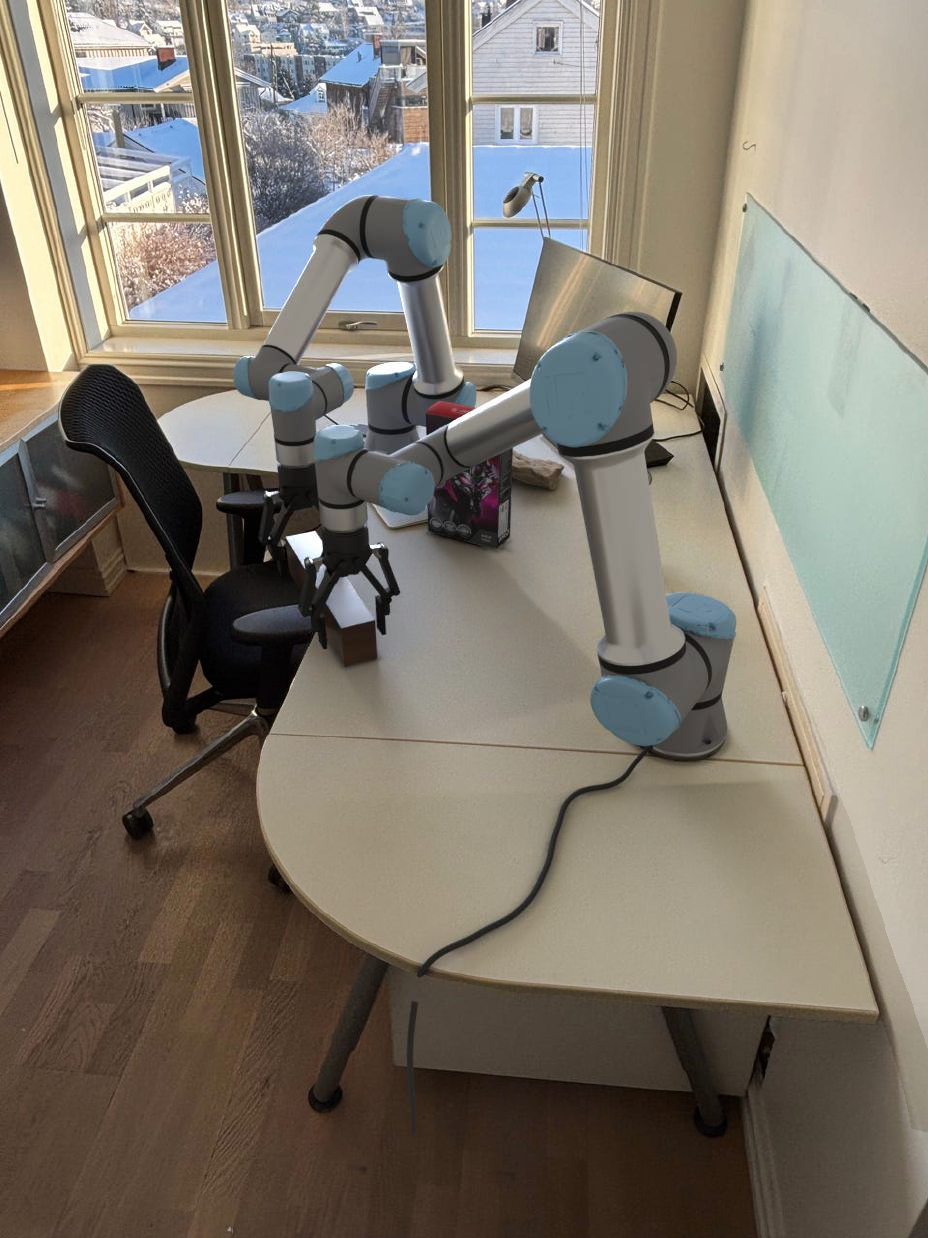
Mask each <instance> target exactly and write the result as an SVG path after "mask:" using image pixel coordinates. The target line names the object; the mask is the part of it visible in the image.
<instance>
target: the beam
mask: <svg viewBox="0 0 928 1238" xmlns="http://www.w3.org/2000/svg"><path fill="white" fill-rule="evenodd" d="M285 547H286V556H287V565H288V573H289V574H290V576H291V579H292V580H293V581H294V583H295V585H296V587H297V588H298V590H299V592H300V593H301V590H302V585H303V580H304V575H305V565H304V559H305V558H306V557H310V558H311V559H314V558H317V557H320V556H321V554H322V551H323V547H322V538H321V537H320V536H319V535H318V533H317V531H315V530H314V531H307V532H303V533H299V534H294V535H289V536H285ZM325 569H326V566H325V565H324V564H323V565H321V566H320V570H319V572H318V573H317V579H316V584H315V589H314V594H313V598H314V596H315V594H316V591H317V589H318V587H319V585H320V583H321V581H322V579H323V577H324V572H325ZM347 577H348V576H346V577H343V578H341V577H340V579H339V581H338V583H337V584H335V585H334V587H333V590H332V592H331V594H330V596H329V598H328V600H327V602H326V604H325V606H324V608H323V610H322V613H323V615H324V616H325V625H326V635H327V641H328V642H329V643H330V645H331V647H332V648H333V650H334V653H336V655H337V657H338V659H339V661H340V662H341V664H342V665H343V667H344V668H346V667H350V666H354V665H358V664H363V663H365V662H370V661H374V660H377V659H378V643H377V641H378V640H377V623H376V618H375V617H374V616H373V615H372V613H371V612H370V610H369V609H368V606H367V605H366V604H365V603H364V601H363V600H362V598H361V596H360V595H359V594H358V592H357V591H356V590H355V588H354V586H353V585H352V583H351V582H350V581H349V579H348V578H347ZM312 600H313V599H312Z"/></svg>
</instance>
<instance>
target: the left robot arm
mask: <svg viewBox="0 0 928 1238" xmlns="http://www.w3.org/2000/svg"><path fill="white" fill-rule="evenodd" d="M452 238H453V236H452V228H451V223H450V219H449V217H448V215H447V213H446V211H445V210H444V209H443V207H442V206H441V205H440V204H438V203H436V202H434V201H430V200H426V199H425V200H424V199H422V198H417V197H414V198H406V197H405V198H404V197H396V196H395V197H394V196H387V195H377V194H363V195H360V196H357V197H354V198H352V199H351V200H349V201H347V202H345V203H344V204H342V205H341V206H340V207H339V208H337V209H336V210H335V211H334V212H333V213H332V214H331V215H330V216H328V219H326V221H325V222H324V223H323V224H322V226H321V227H320V229H319V230H318V232H317V233H316V236H315V237H314V240H313V242H312V249H313V252H312V254H311V256H310V257H309V260H308V261H307V263H306V265H305V266H304V269H303V270H302V273H301V275H299V277H298V279H297V281H296V283H295V285H294V287H293V289H292V290H291V292H290V294H289V296H288V298H287V300H286V301H285V303H284V305H283V306H282V308H281V309H280V312H279V314H278V316H277V317H276V320H275V322H274V323H273V325H272V326H271V329H270V330H269V331H268V334H267V336H266V337H265V340H263V343H262V345H261V347H260V348H259V350H258V351H257V354H256V355H245V356H242V357H241V358H239V359H238V360H237V361H236V363H235V365H234V368H233V373H232V377H233V379H232V380H233V385H234V387H235V389H236V391H237V392H238V393H239V394H240V395H242V396H245V397H248V398H250V399H253V400H256V401H257V400H258V401H266V402H268V405H269V408H270V415H271V421H272V422H271V423H272V429H273V439H274V449H275V459H276V461H277V464H276V469H277V476H278V488H277V490H275V491H271V492H269V491H267V490H265V491H263V492H262V499H263V509H262V514H261V518H260V519H261V520H260V526H259V531H258V536H257V537H258V540H259V542H260V544H261V545H262V546H269V551H270V556H271V558H272V560H273V561H274V562H275V561H276V565H277V570H278V572H279V575H280V576H281V577H286V576H287V575H286V567H285V559H284V557H285V556H284V550H283V549H284V548H283V545H282V543H281V538H282V536H283V534H284V532H285V530H286V528H287V525H288V523H289V522H290V521H289V520H290V519H291V517H292V516H293V515H294V513H295V511H300V510H302V509H312V508H313V506H314V507H315V509H316V510H317V511H318V512H319V513H320V511H319V500H318V488H317V478H316V469H315V461H314V437H315V435H316V434H317V421H318V420H319V419H321V418H323V417H324V416H326V415H328V414H329V413H331V412H333V411H336V410H337V409H339V408H341V407H343V405H344V404H345V403H347V402H348V401H349V400H350V399H351V398H352V396H353V394H354V392H355V384H354V379H353V376H352V374H351V373H350V371H349V370H348V369H347V368H346V367H345V366H343V365H341V364H339V363H334V362H333V363H329V364H324V365H322V366H321V367H313V366H312V367H311V366H306V365H300V362H301V361H302V359H303V357H304V356H305V353H306V351H307V350H308V348H309V346H310V344H311V342H312V340H313V339H314V336H315V335H316V333H317V331H318V329H319V327H320V325H321V324H322V322H323V320H324V318H325V316H326V314H327V313H328V311H329V309H330V307H331V306H332V305H331V304H332V303H333V301H334V300H335V297H336V295H337V294H338V292H339V290H340V288H341V287H342V285H343V284H344V283H343V282H344V281H345V279H346V277H347V275H348V274H349V273H352V272H354V271H355V270H356V269H357V268H358V266H359V264H360V262H361V261H363V260H366V259H373V260H381V261H384V263H385V266H386V270H387V274H388V277H389V278H390V279H391V280H392V281H394V282H397V286H398V291H399V295H400V300H401V305H402V309H403V314H404V318H405V323H406V327H407V331H408V337H409V342H410V346H411V350H412V355H413V359H414V360H413V361H414V364H415V365H414V364H413V363H411V362H408V361H392V362H386V363H382V364H378V365H376V366H373V367H372V368H370V369H369V370H368V371H367V373H366V374H365V387H364V391H365V399H366V400H365V401H366V416H367V432H366V436H365V439H364V442H365V443H364V448H366V449H370V450H372V451H376V452H379V453H382V454H385V455H391V454H393V453H395V452H396V451H398V450H400V449H402V448H404V447H406V446H408V445H410V444H412V443H414V442H416V441H418V440H420V439H421V438H420V435H419V433H418V429H417V426H418V427H423V428H426V411H427V410H428V409H429V408H430V407H431V406H433V405H434V404H435V403H437V402H439V401H446V402H450V403H455V404H459V405H464V406H469V407H474V408H476V406H477V405H476V403H477V395H478V393H477V386H476V385H475V384H474V383H473V382H471V381H465V377H464V372H463V369H462V367H461V366H460V365H458V364H457V363H455V358H454V353H453V348H452V341H451V335H450V331H449V325H448V319H447V313H446V307H445V302H444V296H443V290H442V285H441V279H440V273H441V271H442V270H443V269H444V266H445V263H446V261H447V260H448V258H449V256H450V255H451V249H452V244H451V241H452ZM278 499H281V500H282V501H283V502H282V503H281V507H280V508H281V509H280V510H279V513H278V515H277V517H276V520H275V521H274V524H273V526H272V523H273V518H274V513H275V506H276V505H277V502H278ZM271 528H272V529H271Z"/></svg>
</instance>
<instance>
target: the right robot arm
mask: <svg viewBox="0 0 928 1238" xmlns="http://www.w3.org/2000/svg"><path fill="white" fill-rule="evenodd" d="M677 351H678V350H677V346H676V342H675V340H674V337H673V335H672V334H671V332H670V331H669V329H668V328H667V326H665V324H664V323H663V322H661V321H660V320H658V318H656V317H655V316H652V315H650V314H648V313H645V312H640V311H624V312H617V313H615V314H612V315H610V316H608V317H606V318H605V319H603V320H600V321H599V322H596V323H594V324H592V325H590V326H588V327H586V328H583V329H581V330H579V331H576V332H574V333H570V334H568V335H566V336H564V337H563V338H561V339H560V340H559V341H558V342H556V343H555V344H554V345H553V346H551V347H550V348H549V349H547V350H546V351H545V352H544V353H543V355H542V356H541V357H540V358H539V359H538V362H537V363H536V365H535V366H534V369H533V371H532V374H531V377H530V379H528V380H526V381H525V382H522V383H521V384H518V385H517V386H515V387H514V388H512V389H510V390H508V391H506V392H504V393H503V394H501V395H499V396H497V397H495V398H493V399H492V400H489V401H488V402H486V403H484V404H482V405H481V406H479V407H476V408H477V409H475V410H473V411H471V412H469V413H468V414H466V415H464V416H462V417H460V418H458V419H457V420H455V421H453V422H452V423H449V424H447V425H445V426H443V427H441V428H439V429H437V430H436V431H434V432H433V433H431V434H429V435H427V436H426V435H425V436H423V437H421V438H420V440H418V441H416V442H414V443H412V444H410V445H408V446H406V447H404V448H402V449H400V450H398V451H396V452H395V453H393V454H391V455H385V454H382V453H379V452H376V451H372V450H370V449H366V448H364V443H365V439H364V435H363V432H362V431H361V430H359V429H358V428H357V427H356V426H351V425H347V424H335V425H334V424H333V425H329V426H326V427H324V428H321V429H320V430H318V431H316V435H315V437H314V461H315V469H316V478H317V488H318V500H319V511H320V512H319V511H318V512H319V521H320V535H321V540H322V547H323V551H322V554H321V556H320V557H317V558H314V559H311V558H310V557H306V558H305V559H304V565H305V575H304V580H303V585H302V590H301V592H300V596H299V600H298V604H297V609H298V610H299V612H300V614H301V616H302V617H303V618H308V617H310V626H311V629H312V630H313V632H314V633H315V634H317V640H318V643H319V645H320V646H321V648H322V650H323V651H326V650H328V638H327V635H326V625H325V616H324V615H323V613H322V610H323V608H324V606H325V604H326V602H327V600H328V598H329V596H330V594H331V592H332V590H333V587H334V585H335V584H337V583H338V581H339V579H340V577H341V578H343V577H348V576H357V575H360V572H361V573H362V575H363V576H364V578H366V579H367V581H368V582H369V583H370V585H371V586H372V587H373V588H374V589H375V590H376V593H378V595H375V596H374V604H375V605H374V606H375V622H376V629H377V630H378V631H379V633H380V635H381V636H385V635H387V622H386V617H388V616H390V615H391V603H392V602H393V597H397V596H399V595H400V594H401V590H400V587H399V584H398V582H397V581H398V580H397V579H396V576H395V573H394V571H393V568H392V565H391V562H390V560H389V557H390V556H389V553H390V550H389V548H388V547H387V546H386V544H385V543H384V542H383V541H378V542H377V543H376V544H374V545H370V534H369V531H370V530H369V523H368V520H369V512H368V503H371V504H372V505H375V506H378V507H380V508H383V509H385V510H387V511H390V512H392V513H398V514H403V515H406V516H413V517H414V516H419V515H420V514H421V513H423V512H424V511H425V510H426V509H427V506H428V504H429V503H430V502H431V500H432V497H433V494H434V488H435V487H436V486H437V485H439V484H441V483H442V482H444V481H446V480H448V479H450V478H452V477H453V476H455V475H457V474H459V473H461V472H463V471H466V470H468V469H470V468H472V467H473V466H475V465H477V464H479V463H481V462H484V461H486V460H488V459H490V458H492V457H494V456H496V455H498V454H501V453H503V452H505V451H507V450H509V449H511V448H513V449H514V448H516V447H517V446H520V445H521V444H524V443H526V442H528V441H530V440H532V439H535V438H536V437H539V436H541V435H543V434H545V433H546V437H547V438H549V439H550V440H551V441H553V442H554V443H556V446H557V447H556V448H557V452H558V455H559V457H561V458H562V459H564V460H565V461H567V462H568V463H570V464H572V466H573V470H574V474H575V480H576V485H577V491H578V495H579V501H580V507H581V512H582V517H583V522H584V527H585V532H586V539H587V543H588V549H589V553H590V559H591V565H592V569H593V575H594V580H595V586H596V590H597V596H598V601H599V608H600V611H601V618H602V623H603V627H604V631H605V632H604V635H603V636H602V637H601V639H600V640H598V642H597V645H596V653H597V658H598V663H599V669H600V674H601V675H600V678H599V679H597V681H596V682H595V683H594V684H593V687H592V689H591V691H590V697H589V698H590V699H589V700H590V701H589V702H590V707H591V711H592V712H593V714H594V716H595V718H596V719H597V721H598V722H599V723H600V724H601V726H602V727H603V728H604V729H605V730H607V731H609V732H610V733H612V735H613V736H614V737H616V738H617V739H619V740H621V741H623V742H626V743H628V744H631V745H636V746H638V747H639V748H640V749H641V750H642V751H641V752H640V753H639V754H638V755H637V756H636V757H635V758H634V759H633V761H632V762H631V763H630V765H629V766H628V768H627V769H626V770H625V771H624V773H623V774H622V775H620V776H619V777H618V778H616V779H614V780H612V781H609V782H604V783H600V784H595V785H588V786H584V787H581V788H579V789H577V790H575V791H574V792H572V793H571V794H570V795H569V796H568V797H567V798H566V799H565V800H564V802H563V803H562V805H561V806H560V809H559V812H558V816H557V818H556V822H555V825H554V828H553V830H552V834H551V838H550V841H549V845H548V851H547V855H546V858H545V861H544V863H543V867H542V869H541V871H540V874H539V876H538V878H537V880H536V882H535V884H534V886H533V888H532V890H531V891H530V892H529V894H528V896H527V897H526V898H525V899H524V900H523V902H522V903H520V904H519V905H518V906H517V907H516V908H515V909H514V910H513V911H511V912H510V913H508V914H507V915H505V916H503V917H502V918H500V919H497V920H495V921H494V922H492V923H489V924H487V925H486V926H483V927H482V928H480V929H478V930H477V931H475V932H473V933H471V934H470V935H468V936H465V937H463V938H461V939H459V940H457V941H455V942H452V943H450V944H447V945H446V946H444V947H442V948H440V949H438V950H437V951H435V952H434V953H433V954H432V955H430V956H429V957H428V958H427V960H425V962H424V963H423V964H422V965H421V966H420V968H419V969H418V971H417V973H416V977H418V978H423V977H424V976H425V974H426V972H427V971H428V970H429V968H430V967H431V966H432V965H433V964H434V963H436V961H437V960H439V959H441V958H442V957H444V956H445V955H447V954H449V953H451V952H453V951H455V950H458V949H460V948H462V947H464V946H467V945H468V944H472V942H475V941H476V940H478V939H480V938H481V937H483V936H485V935H486V934H489V933H490V932H492V931H494V930H497V929H498V928H500V927H502V926H504V925H506V924H508V923H509V922H511V921H513V920H514V919H515V918H517V917H518V916H519V915H521V913H523V912H524V911H525V910H526V909H527V908H528V906H530V905H531V903H532V902H533V901H534V899H535V898H536V896H537V895H538V893H539V892H540V891H541V888H542V886H543V884H544V882H545V880H546V877H547V875H548V873H549V872H550V871H549V870H550V868H551V865H552V862H553V859H554V854H555V851H556V846H557V840H558V837H559V834H560V831H561V829H562V825H563V822H564V818H565V815H566V812H567V809H568V808H569V806H570V804H571V803H572V802H573V801H574V800H576V799H577V798H578V797H579V796H581V795H584V794H587V793H590V792H596V791H603V790H608V789H611V788H614V787H616V786H618V785H621V784H622V783H623V782H624V781H626V780H627V779H628V778H629V776H630V775H631V774H632V772H633V771H634V769H635V768H636V767H637V766H638V765H639V763H640V762H641V761H642V760H643V759H644V758H645V757H646V756H647V754H650V755H651V756H654V757H656V758H659V759H662V760H666V761H670V762H675V763H694V762H700V761H703V760H706V759H709V758H711V757H714V755H716V754H718V752H720V751H721V750H722V748H723V747H724V744H725V743H726V740H727V739H726V738H727V734H728V721H727V716H726V712H725V708H724V707H725V706H724V701H723V692H724V686H725V682H726V678H727V674H728V673H727V672H728V668H729V664H730V659H731V654H732V651H733V650H732V649H733V645H734V639H735V638H736V636H737V632H736V629H737V617H736V614H735V612H734V611H733V610H732V609H731V608H730V607H729V606H728V605H727V604H726V603H724V602H722V601H720V600H719V599H717V598H714V597H712V596H708V595H705V594H701V593H696V592H688V591H687V592H686V591H685V592H683V591H679V592H678V591H677V592H670V593H667V590H666V585H665V577H664V571H663V566H662V559H661V553H660V545H659V538H658V533H657V527H656V520H655V519H656V518H655V513H654V507H653V500H652V493H651V488H650V486H651V485H650V486H649V480H648V473H647V470H648V469H647V461H646V455H645V451H646V448H648V446H649V445H650V443H651V442H652V440H653V439H654V437H655V428H654V421H653V414H652V406H651V403H653V402H655V400H657V399H659V397H661V396H662V394H664V393H665V391H666V390H667V389H668V387H669V386H670V384H671V382H672V380H673V378H674V376H675V374H676V369H677V364H678V353H677ZM372 555H373V556H374V557H375V558H376V559H377V560H378V563H379V566H380V568H381V571H382V574H383V576H384V579H385V581H386V583H387V587H384V586H383V585H382V584H381V582H380V581H379V580H378V578H377V577H376V575H375V574H374V573H373V572H372V570H371V569H370V568H369V567H368V566H367V564H368V562H369V560H370V558H371V557H372ZM323 564H324V565H325V566H326V569H325V572H324V577H323V579H322V581H321V583H320V585H319V587H318V589H317V591H316V594H315V596H314V598H313V594H314V589H315V584H316V579H317V573H318V572H319V570H320V566H321V565H323ZM312 599H313V600H312ZM418 1008H419V1002H417V1001H414V1000H411V1004H410V1010H409V1019H408V1027H407V1037H406V1072H407V1086H408V1087H407V1088H408V1100H409V1101H408V1102H409V1114H410V1115H409V1116H410V1133H411V1134H414V1135H415V1134H416V1133H417V1127H418V1126H417V1104H416V1103H417V1102H416V1090H415V1089H416V1088H415V1075H414V1045H415V1044H414V1043H415V1033H416V1031H415V1030H416V1021H417V1014H418Z"/></svg>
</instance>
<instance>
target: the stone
mask: <svg viewBox="0 0 928 1238" xmlns="http://www.w3.org/2000/svg"><path fill="white" fill-rule="evenodd" d="M564 469H565V466H564V465H563V464H561V463H559V462H557V461H553V460H550V459H540V458H537V457H536V458H535V457H529V456H526V455H523V453H519V452H517V451H516V450H515V449H513V459H512V478H513V479H515V480H518V481H520V482H524V483H526V484H528V485H532V486H541V487H543V488H545V489H547V490H554V489H555V488H556V486H557V484H558V479H559V477H560V476H561V474H562V472H563V470H564Z"/></svg>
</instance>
